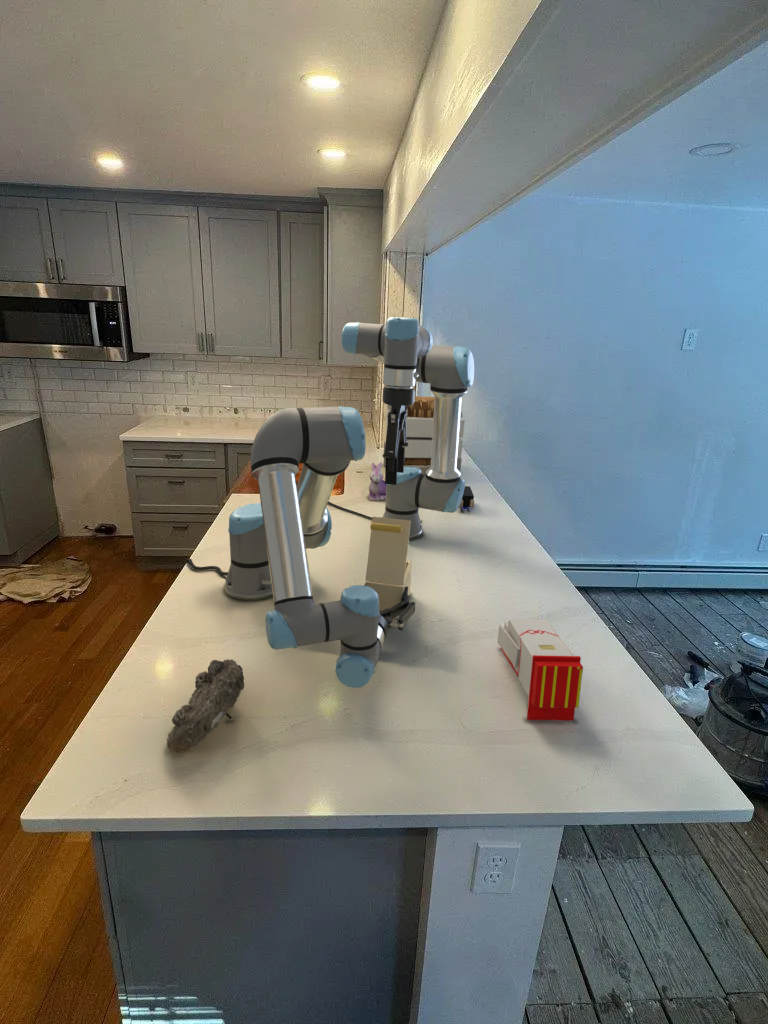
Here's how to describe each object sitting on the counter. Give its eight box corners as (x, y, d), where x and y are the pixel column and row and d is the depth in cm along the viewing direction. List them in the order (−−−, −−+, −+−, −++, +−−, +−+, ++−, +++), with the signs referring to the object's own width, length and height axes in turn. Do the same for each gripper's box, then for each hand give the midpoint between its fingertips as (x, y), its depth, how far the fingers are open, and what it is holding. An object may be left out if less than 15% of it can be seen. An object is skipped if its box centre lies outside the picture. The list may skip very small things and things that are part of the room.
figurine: (373, 502, 230) (374, 466, 225) (362, 495, 239) (363, 460, 234) (393, 500, 234) (395, 464, 229) (382, 492, 243) (383, 458, 238)
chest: (376, 589, 160) (377, 557, 156) (409, 593, 158) (412, 561, 155) (364, 616, 145) (365, 582, 142) (401, 621, 144) (403, 587, 140)
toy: (543, 604, 136) (592, 662, 106) (538, 656, 138) (584, 727, 109) (493, 603, 135) (528, 661, 106) (489, 655, 138) (522, 726, 109)
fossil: (192, 660, 117) (244, 628, 112) (224, 691, 120) (276, 661, 115) (142, 746, 98) (202, 712, 93) (182, 779, 101) (242, 748, 96)
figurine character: (474, 517, 223) (468, 500, 237) (476, 499, 220) (470, 484, 233) (457, 516, 223) (452, 500, 236) (459, 499, 220) (454, 483, 233)
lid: (373, 516, 143) (367, 514, 134) (410, 520, 142) (407, 518, 133) (366, 580, 142) (359, 582, 134) (403, 585, 141) (399, 587, 132)
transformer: (382, 463, 289) (386, 382, 275) (445, 464, 293) (451, 384, 279) (390, 482, 257) (394, 392, 243) (460, 483, 261) (468, 394, 247)
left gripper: (320, 642, 128) (344, 596, 149) (417, 656, 125) (428, 607, 146) (320, 613, 126) (345, 570, 147) (419, 626, 122) (430, 581, 143)
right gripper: (407, 394, 121) (402, 492, 129) (421, 382, 143) (415, 467, 150) (373, 392, 123) (370, 489, 130) (391, 380, 144) (387, 464, 151)
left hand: (386, 588), depth 146 cm, fingers closed on chest, 10 cm apart
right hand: (394, 477), depth 140 cm, fingers open, 10 cm apart
